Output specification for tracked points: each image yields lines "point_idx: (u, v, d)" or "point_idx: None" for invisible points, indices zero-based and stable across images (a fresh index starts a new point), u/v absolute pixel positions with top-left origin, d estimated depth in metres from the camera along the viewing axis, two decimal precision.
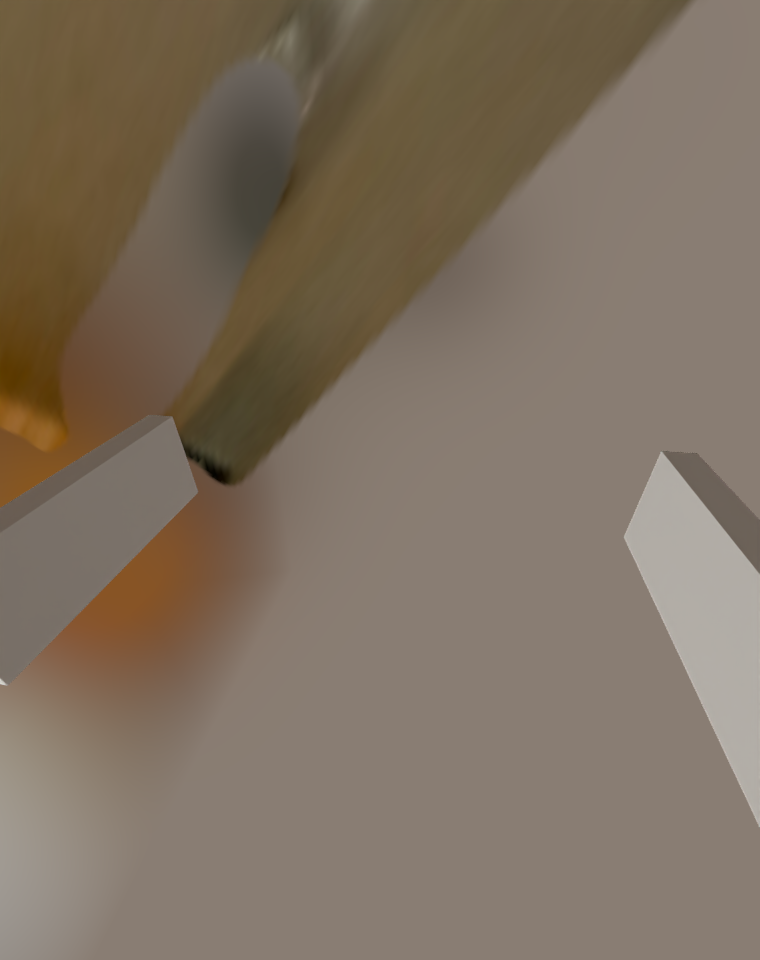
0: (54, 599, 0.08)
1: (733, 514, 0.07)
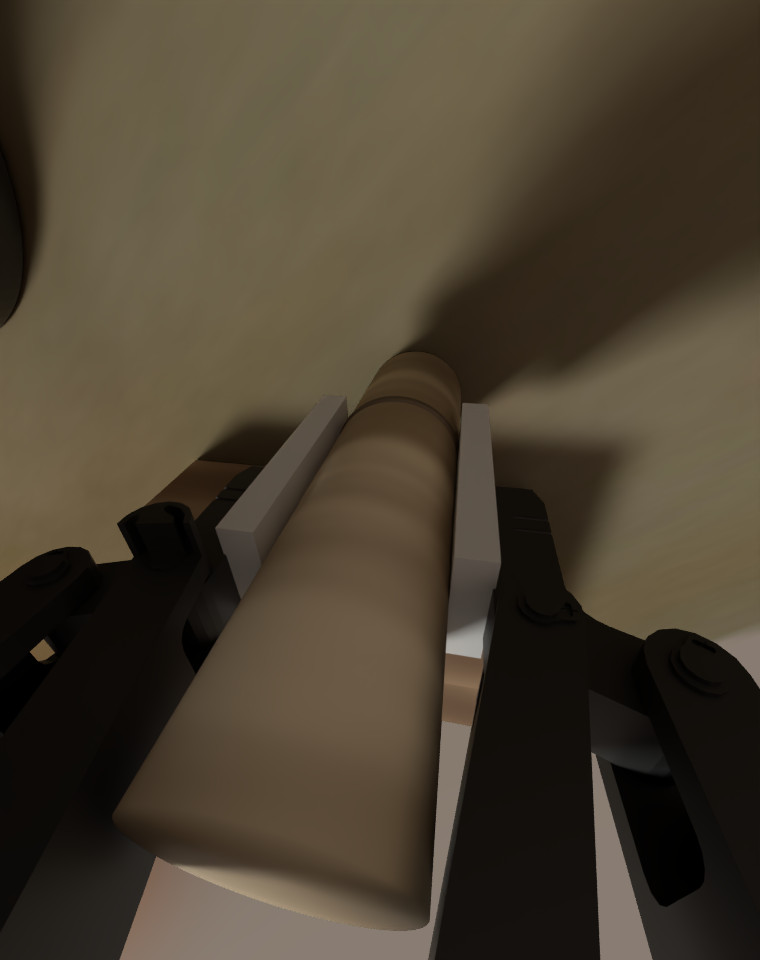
0: None
1: (475, 439, 0.10)
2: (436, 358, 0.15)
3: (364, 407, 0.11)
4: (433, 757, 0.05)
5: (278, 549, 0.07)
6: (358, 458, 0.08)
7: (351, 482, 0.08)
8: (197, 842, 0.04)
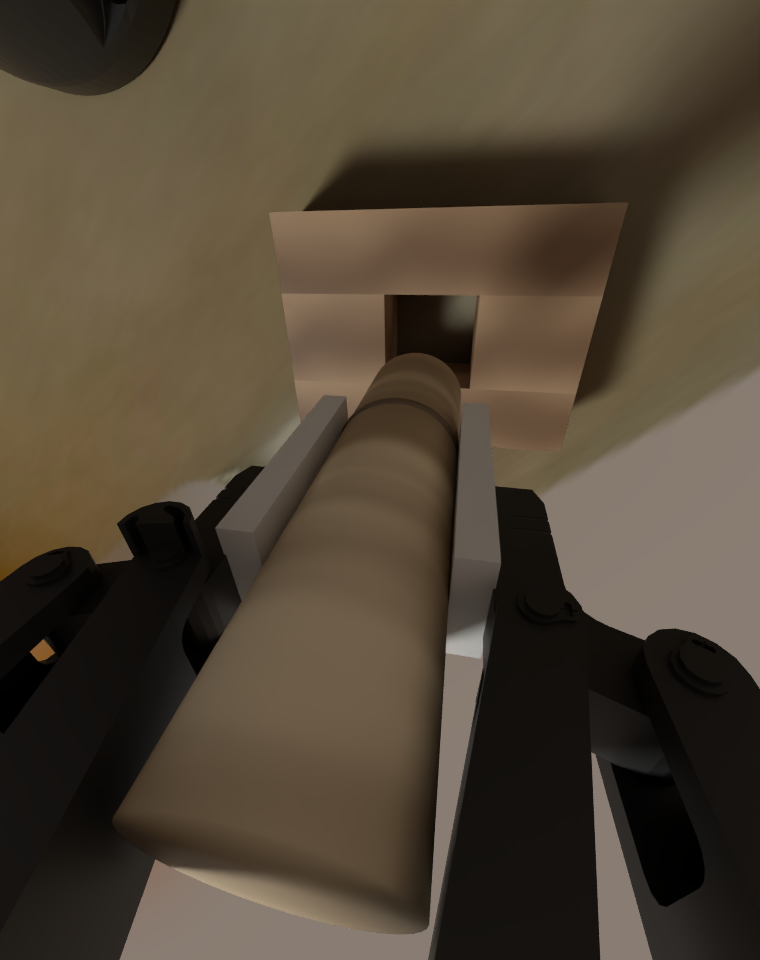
0: None
1: (475, 439, 0.10)
2: (436, 359, 0.15)
3: (364, 409, 0.11)
4: (433, 761, 0.05)
5: (278, 552, 0.07)
6: (358, 460, 0.08)
7: (350, 485, 0.08)
8: (197, 846, 0.04)
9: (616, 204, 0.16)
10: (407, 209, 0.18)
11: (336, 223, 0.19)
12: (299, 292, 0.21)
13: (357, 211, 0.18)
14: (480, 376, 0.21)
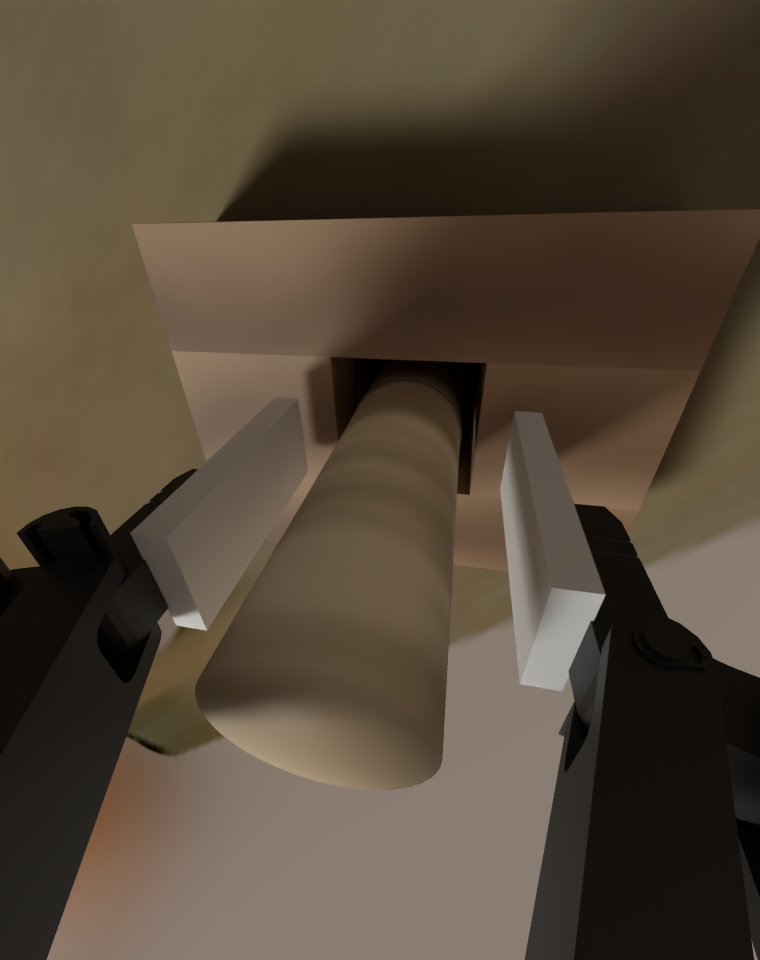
0: (232, 557, 0.09)
1: (538, 452, 0.09)
2: None
3: (376, 389, 0.12)
4: (443, 649, 0.06)
5: (310, 499, 0.08)
6: (374, 428, 0.10)
7: (369, 447, 0.09)
8: (263, 701, 0.05)
9: (747, 213, 0.09)
10: (360, 220, 0.10)
11: (242, 244, 0.11)
12: (198, 350, 0.13)
13: (275, 223, 0.11)
14: (486, 479, 0.14)
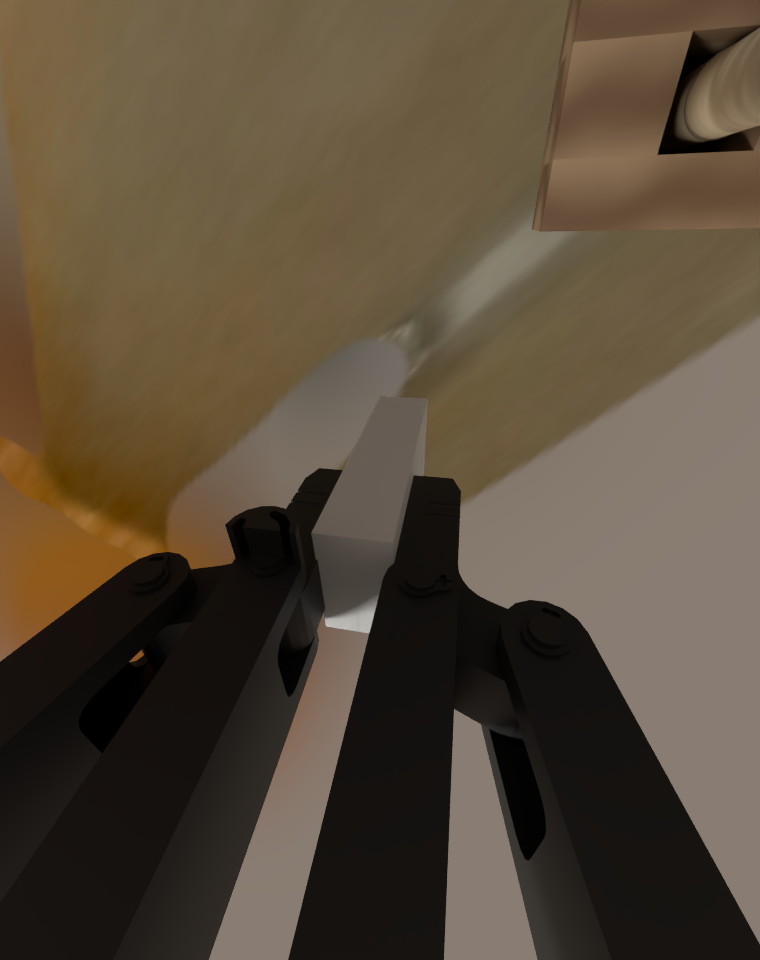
0: None
1: (404, 431, 0.10)
2: None
3: (721, 52, 0.20)
4: None
5: None
6: None
7: None
8: None
9: None
10: None
11: None
12: (595, 38, 0.20)
13: None
14: None
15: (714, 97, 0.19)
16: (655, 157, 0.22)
